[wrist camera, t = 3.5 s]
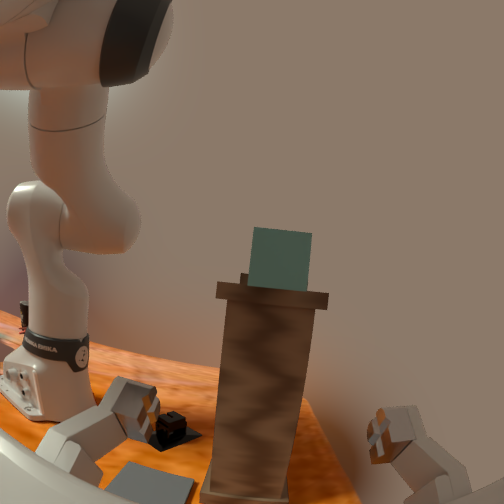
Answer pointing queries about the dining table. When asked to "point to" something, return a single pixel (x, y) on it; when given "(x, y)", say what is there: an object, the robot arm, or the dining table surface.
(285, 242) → the teal square bar
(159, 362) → the dining table surface
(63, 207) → the robot arm
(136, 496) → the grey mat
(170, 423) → the black block on plate
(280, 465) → the walnut stand
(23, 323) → the coffee mug
